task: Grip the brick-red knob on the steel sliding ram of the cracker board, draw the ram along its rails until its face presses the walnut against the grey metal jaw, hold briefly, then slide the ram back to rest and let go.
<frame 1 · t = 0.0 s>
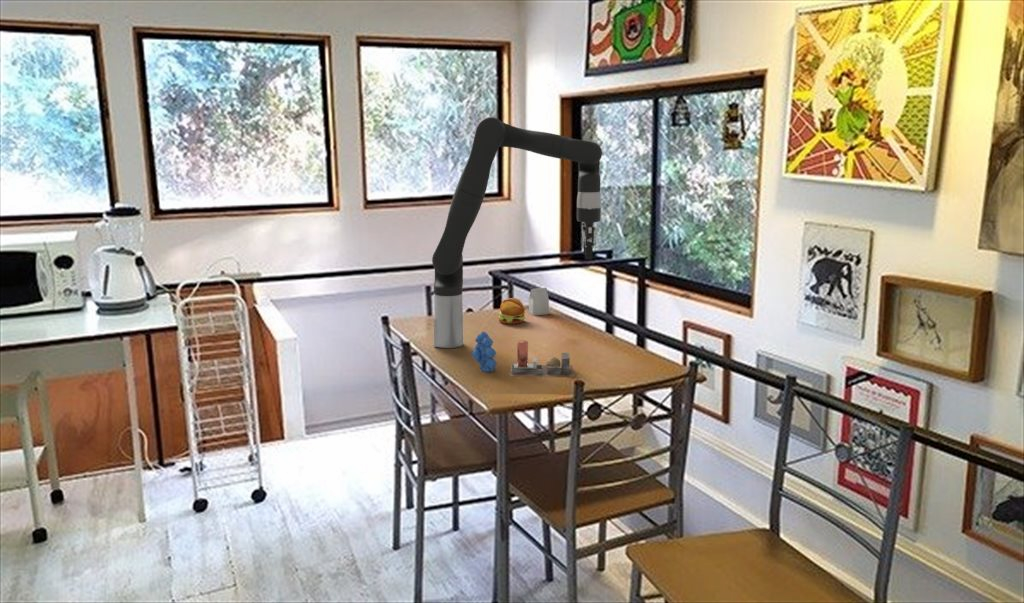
hand: (587, 257, 243), 29 cm above the table, fingers open, 8 cm apart
ram: (525, 355, 216), point 6 cm above the table, slide at 0.0 cm
grapes: (482, 374, 219), on the table
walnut: (553, 370, 217), point 1 cm above the table, touching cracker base
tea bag: (538, 314, 295), on the table
cheeseburger: (512, 322, 282), on the table
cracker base: (541, 375, 217), on the table
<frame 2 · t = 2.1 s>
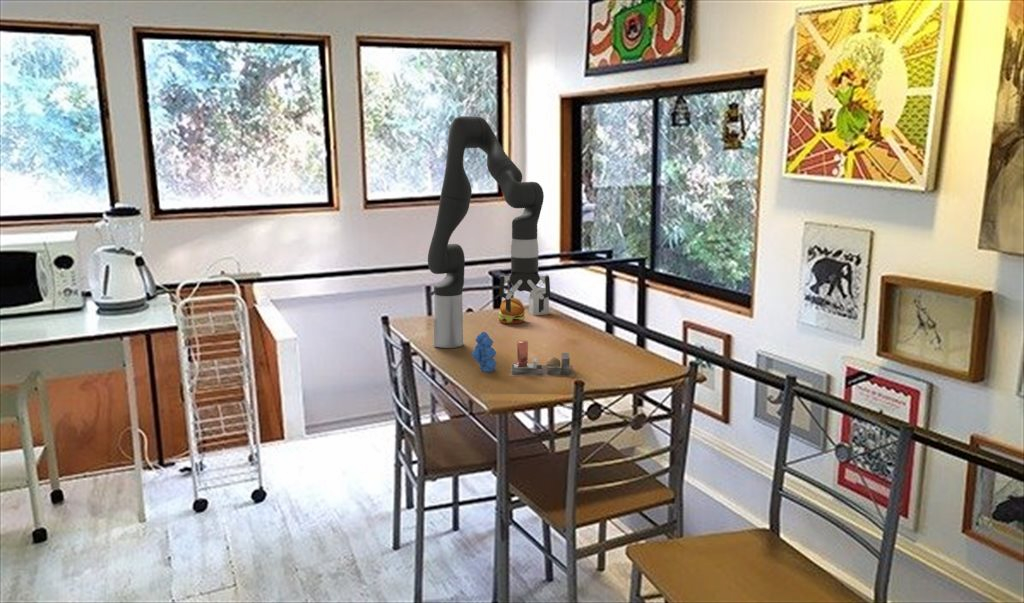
hand: (524, 311, 214), 19 cm above the table, fingers open, 8 cm apart
nothing on the table moved.
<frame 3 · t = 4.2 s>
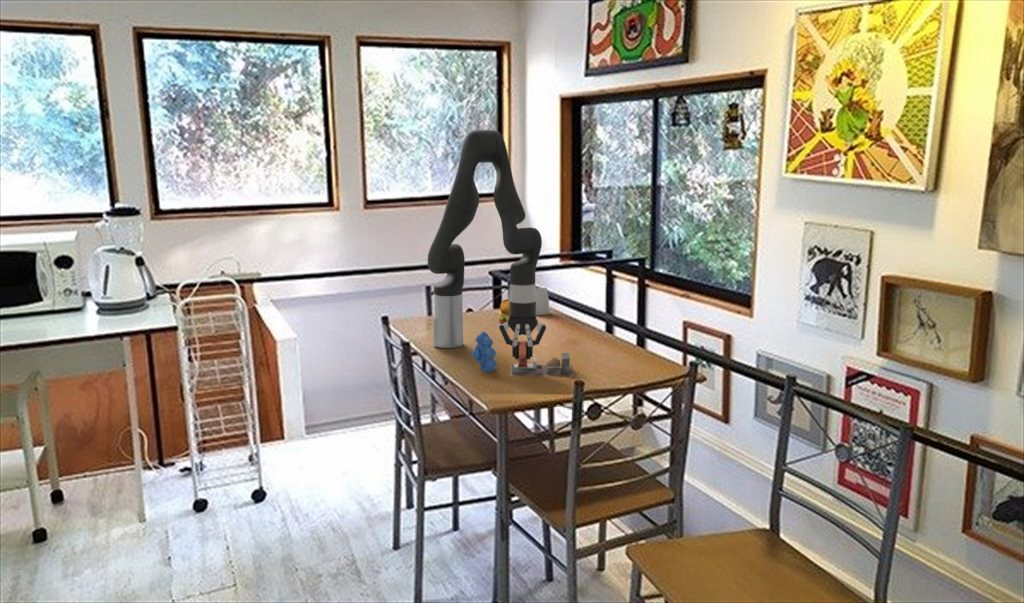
hand: (522, 358, 216), 5 cm above the table, fingers closed on ram, 3 cm apart
ram: (525, 355, 216), point 6 cm above the table, slide at 0.0 cm, touching gripper
everything else where it was.
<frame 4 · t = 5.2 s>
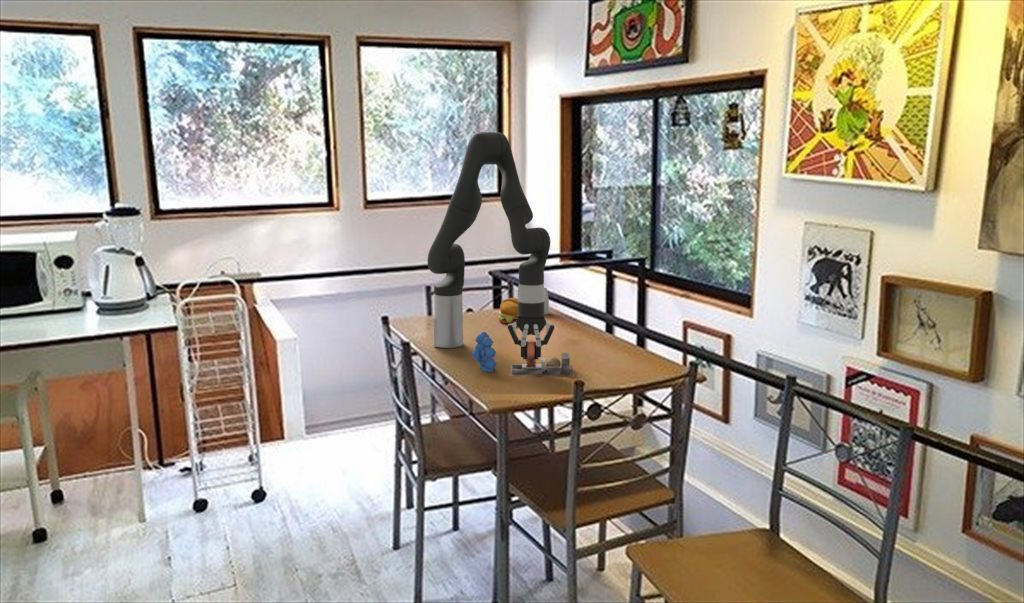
hand: (530, 358, 216), 5 cm above the table, fingers closed on ram, 3 cm apart
ram: (533, 355, 216), point 6 cm above the table, slide at 2.3 cm, touching gripper
everything else where it was.
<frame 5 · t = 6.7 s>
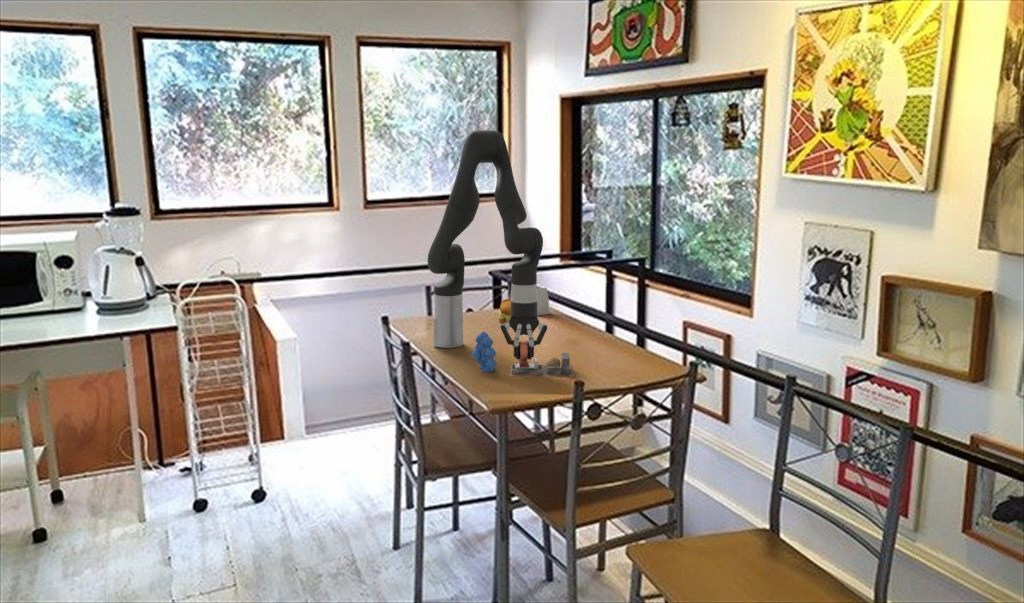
hand: (523, 358, 216), 5 cm above the table, fingers closed on ram, 3 cm apart
ram: (526, 355, 216), point 6 cm above the table, slide at 0.4 cm, touching gripper
everything else where it was.
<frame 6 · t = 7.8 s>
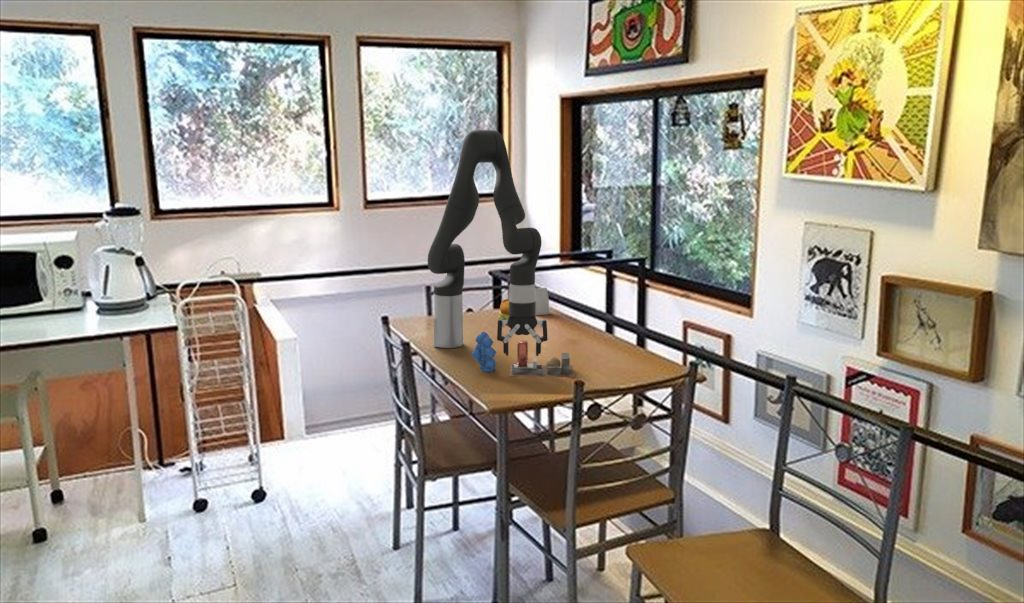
hand: (522, 355, 216), 6 cm above the table, fingers open, 8 cm apart
ram: (525, 355, 216), point 6 cm above the table, slide at 0.0 cm
everything else where it was.
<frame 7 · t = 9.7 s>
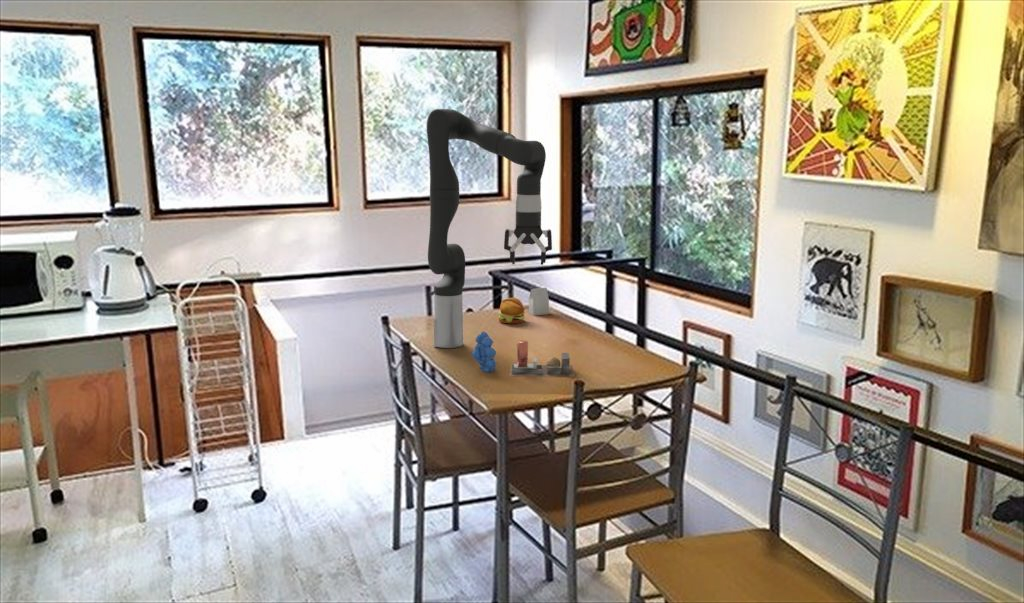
hand: (527, 264, 227), 30 cm above the table, fingers open, 8 cm apart
nothing on the table moved.
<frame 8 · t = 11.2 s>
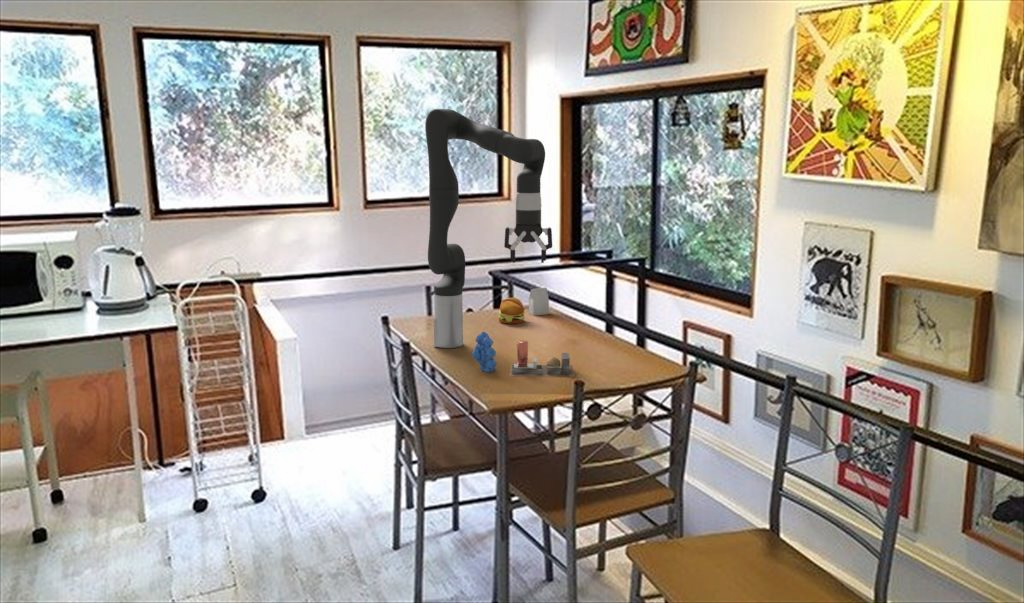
hand: (528, 262, 228), 30 cm above the table, fingers open, 8 cm apart
nothing on the table moved.
at the end: ram slide at 0.0 cm; the gripper is holding nothing; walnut 0.5 cm from the target spot, point 1.5 cm above the table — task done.
